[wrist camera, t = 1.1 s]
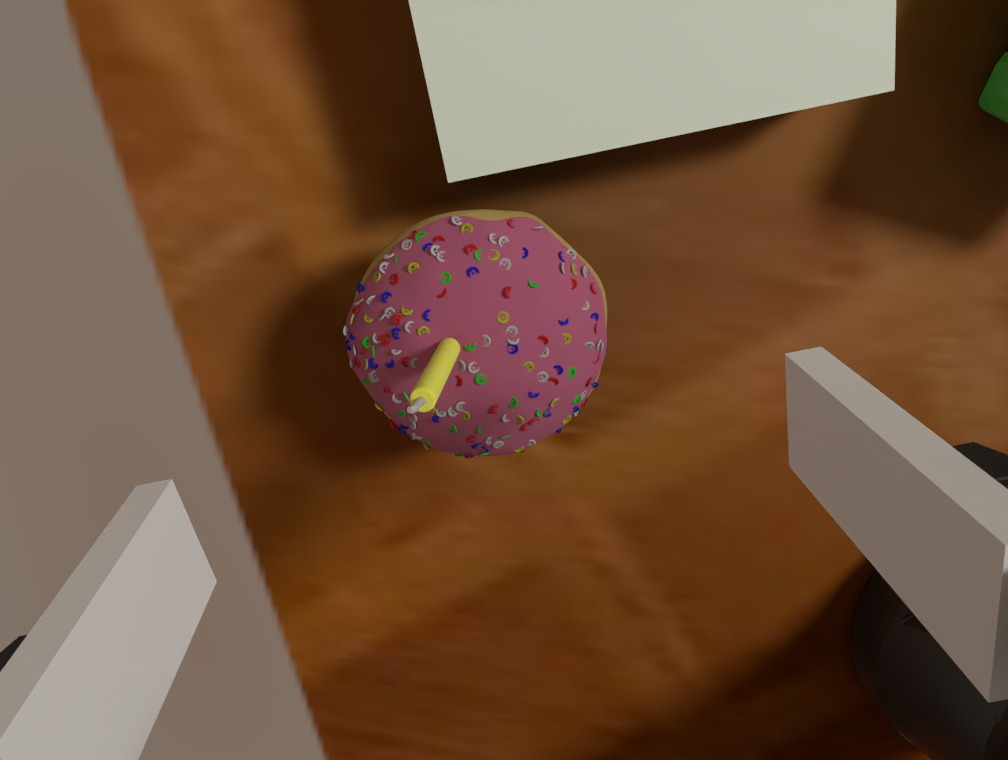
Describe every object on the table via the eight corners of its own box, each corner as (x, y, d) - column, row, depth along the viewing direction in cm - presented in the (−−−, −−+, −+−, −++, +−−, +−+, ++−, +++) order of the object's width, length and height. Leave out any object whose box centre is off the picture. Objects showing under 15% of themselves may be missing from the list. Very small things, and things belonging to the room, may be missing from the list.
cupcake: (333, 352, 29) (260, 526, 18) (413, 146, 26) (385, 202, 15) (530, 427, 31) (574, 626, 20) (625, 241, 28) (736, 353, 17)
